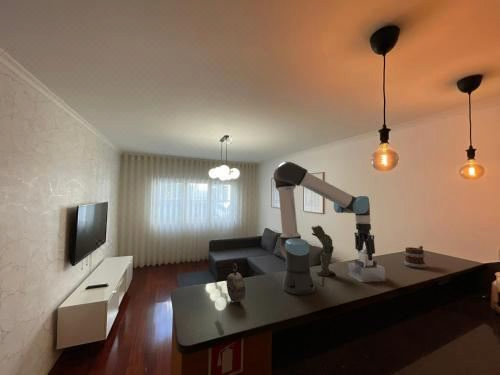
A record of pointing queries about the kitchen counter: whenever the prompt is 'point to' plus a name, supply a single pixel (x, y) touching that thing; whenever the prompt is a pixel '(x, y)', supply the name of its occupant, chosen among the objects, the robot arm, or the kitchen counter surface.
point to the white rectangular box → (366, 271)
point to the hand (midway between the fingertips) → (365, 264)
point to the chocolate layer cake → (415, 258)
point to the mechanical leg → (324, 251)
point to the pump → (364, 257)
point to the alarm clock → (235, 287)
